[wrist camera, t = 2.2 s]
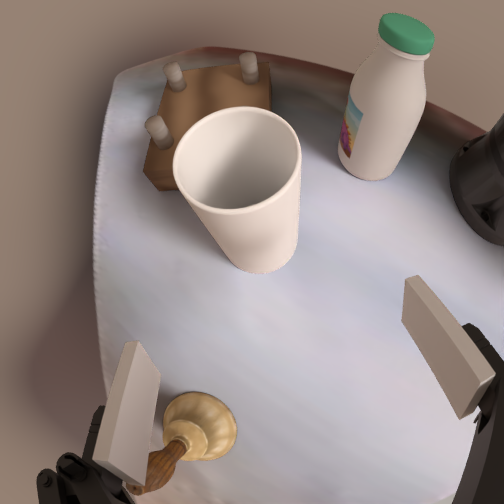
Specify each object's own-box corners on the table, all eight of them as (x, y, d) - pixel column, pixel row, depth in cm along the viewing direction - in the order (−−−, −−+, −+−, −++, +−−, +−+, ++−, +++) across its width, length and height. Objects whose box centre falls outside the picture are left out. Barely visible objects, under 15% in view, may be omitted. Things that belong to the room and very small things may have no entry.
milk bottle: (403, 152, 34) (458, 32, 15) (380, 194, 33) (445, 68, 14) (353, 123, 36) (378, -5, 17) (325, 161, 35) (345, 21, 16)
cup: (211, 223, 35) (157, 140, 19) (275, 191, 35) (262, 90, 20) (242, 287, 32) (199, 237, 17) (311, 251, 32) (327, 173, 17)
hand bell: (221, 383, 30) (161, 420, 14) (248, 451, 27) (214, 532, 12) (153, 400, 30) (62, 434, 14) (179, 464, 27) (109, 531, 12)
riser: (271, 87, 40) (266, 39, 31) (271, 186, 35) (265, 140, 26) (179, 95, 41) (161, 53, 33) (159, 191, 37) (127, 153, 28)
